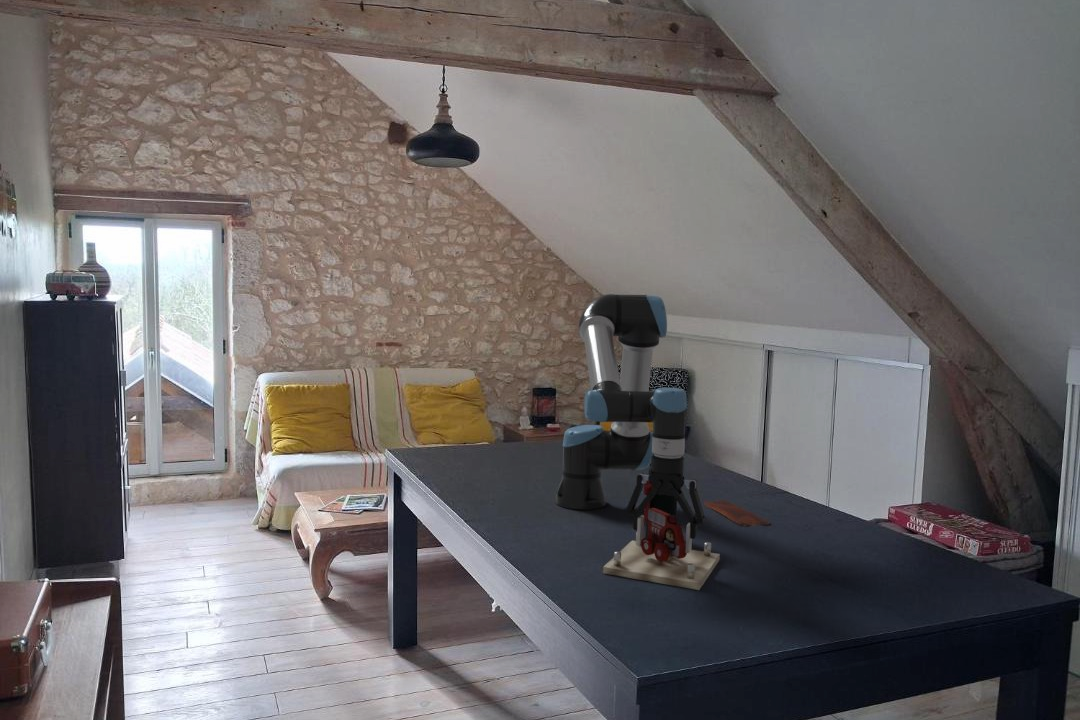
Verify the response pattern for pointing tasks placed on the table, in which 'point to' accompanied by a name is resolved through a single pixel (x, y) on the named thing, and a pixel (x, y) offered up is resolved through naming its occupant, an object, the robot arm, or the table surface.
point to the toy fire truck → (663, 536)
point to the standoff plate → (663, 566)
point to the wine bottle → (659, 503)
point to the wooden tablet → (736, 513)
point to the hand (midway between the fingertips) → (663, 547)
